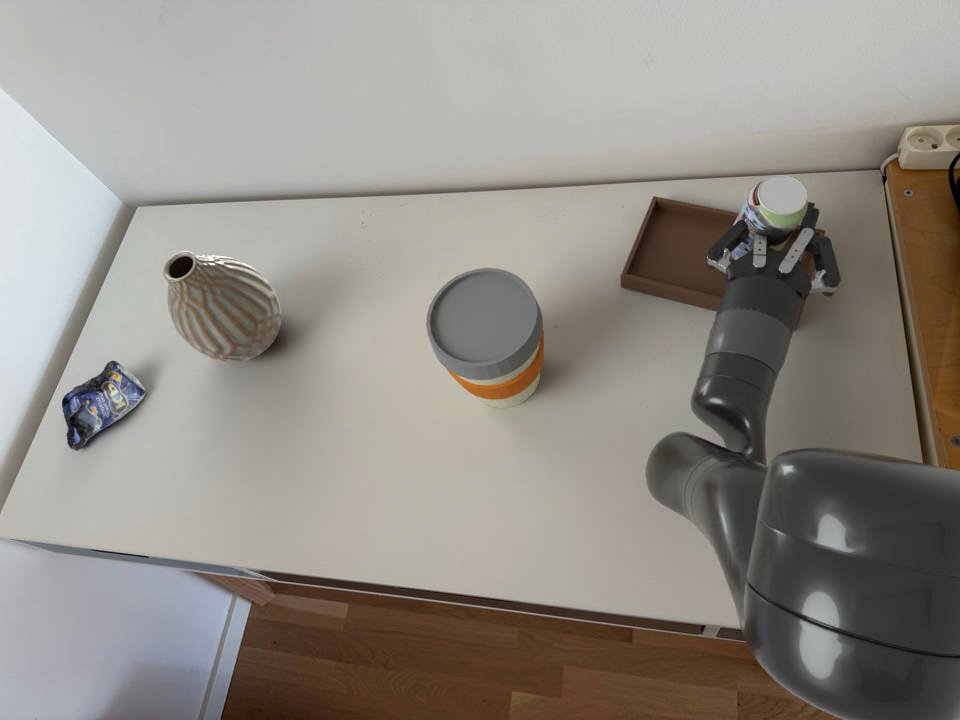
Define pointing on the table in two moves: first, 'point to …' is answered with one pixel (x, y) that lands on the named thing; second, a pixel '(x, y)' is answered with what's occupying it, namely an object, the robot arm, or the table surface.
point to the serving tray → (686, 254)
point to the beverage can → (772, 212)
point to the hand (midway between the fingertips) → (791, 204)
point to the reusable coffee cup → (489, 335)
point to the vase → (221, 306)
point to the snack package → (100, 403)
